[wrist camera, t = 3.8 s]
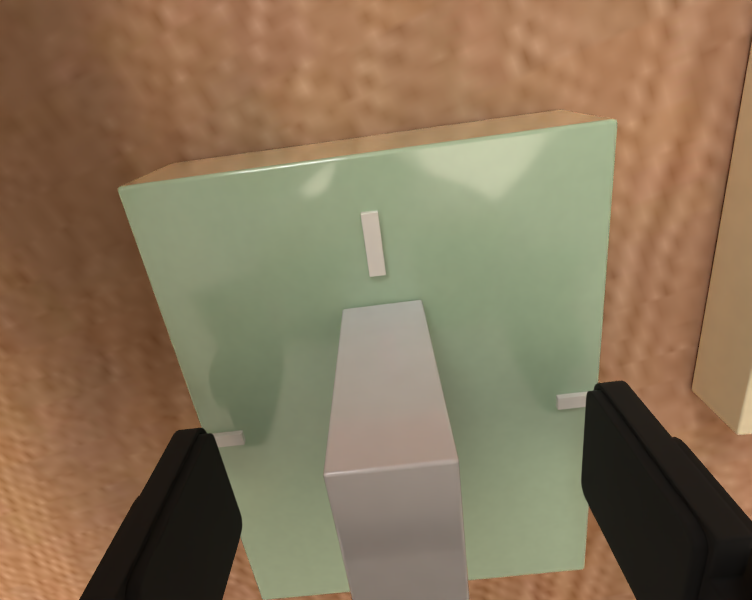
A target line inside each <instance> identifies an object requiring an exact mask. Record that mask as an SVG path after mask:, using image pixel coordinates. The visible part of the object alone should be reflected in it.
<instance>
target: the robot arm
mask: <svg viewBox="0 0 752 600" xmlns="http://www.w3.org/2000/svg"><path fill="white" fill-rule="evenodd" d="M581 486H582V491H583V494H584V497H585V499H586V501H587V503H588V505H589V507H590V509H591V511H592V513H593V515H594V517H595V519H596V521H597V523H598V525H599V527H600V528H601V530H602V532H603V534H604V536H605V538H606V540H607V542H608V544H609V546H610V548H611V550H612V552H613V554H614V556H615V558H616V560H617V562H618V564H619V566H620V568H621V570H622V572H623V574H624V576H625V578H626V580H627V582H628V584H629V586H630V588H631V590H632V592H633V594H634V595H635V597H636V599H637V600H752V521H751V520H750V519H749V517H748V516H747V515H746V514H745V513H744V512H743V510H742V509H741V508H740V507H739V506H738V505H737V503H736V502H735V501H734V500H733V499H732V498H731V496H730V495H729V494H728V493H727V492H726V491H725V489H724V488H723V487H722V486H721V485H720V484H719V482H718V481H717V480H716V479H715V478H714V477H713V475H712V474H711V473H710V472H709V471H708V470H707V468H706V467H705V466H704V465H703V464H702V463H701V461H700V460H699V459H698V458H697V457H696V456H695V454H694V453H693V452H692V451H691V450H690V449H689V447H688V446H687V445H686V444H685V443H684V442H683V441H682V440H680V439H678V438H676V437H671V436H670V434H669V433H668V432H667V431H666V430H665V428H664V427H663V426H662V425H661V424H660V422H659V421H658V420H657V419H656V418H655V416H654V415H653V414H652V413H651V412H650V410H649V409H648V408H647V407H646V406H645V404H644V403H643V402H642V401H641V400H640V399H639V397H638V396H637V395H636V394H635V393H634V391H633V390H632V389H631V388H630V387H629V385H628V384H627V383H626V382H625V381H614V382H605V383H597V384H595V386H594V390H593V391H588V392H587V395H586V407H585V424H584V440H583V456H582V472H581ZM241 532H242V516H241V513H240V510H239V507H238V504H237V501H236V498H235V495H234V492H233V490H232V487H231V484H230V481H229V478H228V475H227V472H226V469H225V466H224V463H223V460H222V457H221V454H220V452H219V449H218V446H217V443H216V440H215V437H214V435H213V434H212V433H207V432H206V430H205V429H204V428H194V429H185V430H178V431H176V432H175V433H174V435H173V437H172V438H171V440H170V442H169V444H168V446H167V447H166V449H165V451H164V453H163V455H162V456H161V458H160V460H159V462H158V464H157V466H156V467H155V469H154V471H153V473H152V475H151V476H150V478H149V480H148V482H147V484H146V485H145V487H144V489H143V491H142V493H141V494H140V496H138V497H137V499H136V500H135V501H134V503H133V504H132V506H131V508H130V510H129V512H128V513H127V515H126V517H125V519H124V521H123V522H122V524H121V526H120V528H119V530H118V531H117V533H116V535H115V537H114V538H113V540H112V542H111V544H110V546H109V547H108V549H107V551H106V553H105V555H104V556H103V558H102V560H101V562H100V564H99V565H98V567H97V569H96V571H95V572H94V574H93V576H92V578H91V580H90V581H89V583H88V585H87V587H86V589H85V590H84V592H83V594H82V596H81V597H80V599H79V600H222V599H223V595H224V592H225V588H226V585H227V581H228V578H229V574H230V571H231V567H232V564H233V560H234V557H235V553H236V550H237V546H238V543H239V539H240V536H241Z"/></svg>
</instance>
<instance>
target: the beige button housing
mask: <svg viewBox="0 0 752 600" xmlns="http://www.w3.org/2000/svg"><path fill="white" fill-rule="evenodd" d="M692 391H693V392H694V393H695V394H696V395H697V396H698V397H699V398H700V399H701V400H702V401H703V402H704V403H705V404H706V405H707V406H708V407H709V408H710V409H711V410H712V411H713V412H714V413H715V414H716V415H717V416H718V417H719V418H720V419H721V420H722V421H723V422H724V423H725V424H726V425H728V426H729V427H730V428H731V429H732V430H733V431H734V432H735V433H736V434H737V435H745V434H752V43H751V49H750V54H749V60H748V66H747V72H746V77H745V83H744V89H743V95H742V101H741V106H740V112H739V118H738V124H737V129H736V135H735V141H734V147H733V153H732V158H731V164H730V170H729V176H728V181H727V187H726V193H725V199H724V204H723V210H722V216H721V222H720V228H719V233H718V239H717V245H716V251H715V256H714V262H713V268H712V274H711V280H710V285H709V291H708V297H707V303H706V308H705V314H704V320H703V326H702V332H701V337H700V343H699V349H698V355H697V360H696V366H695V372H694V378H693V384H692Z"/></svg>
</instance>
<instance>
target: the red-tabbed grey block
mask: <svg viewBox="0 0 752 600" xmlns="http://www.w3.org/2000/svg"><path fill="white" fill-rule="evenodd" d="M323 477H324V482H325V486H326V490H327V494H328V499H329V503H330V507H331V511H332V516H333V520H334V524H335V529H336V533H337V537H338V541H339V546H340V550H341V554H342V558H343V563H344V567H345V571H346V576H347V580H348V584H349V588H350V593H351V597H352V600H470V597H469V583H468V570H467V557H466V544H465V531H464V518H463V504H462V491H461V478H460V465H459V458H458V453H457V449H456V445H455V440H454V436H453V432H452V427H451V423H450V419H449V414H448V410H447V406H446V401H445V397H444V393H443V388H442V384H441V380H440V375H439V371H438V367H437V362H436V358H435V354H434V349H433V345H432V341H431V336H430V332H429V328H428V323H427V319H426V315H425V311H424V306H423V302H422V300H414V301H406V302H398V303H390V304H382V305H374V306H365V307H357V308H349V309H344V310H343V311H342V319H341V327H340V336H339V344H338V353H337V361H336V370H335V378H334V387H333V395H332V404H331V412H330V420H329V429H328V437H327V446H326V454H325V463H324V471H323Z"/></svg>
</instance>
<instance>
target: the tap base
mask: <svg viewBox="0 0 752 600" xmlns="http://www.w3.org/2000/svg"><path fill="white" fill-rule="evenodd" d="M616 136H617V120H616V119H612V118H607V117H601V116H595V115H590V114H584V113H578V112H573V111H567V110H561V109H560V110H553V111H546V112H539V113H531V114H524V115H517V116H510V117H502V118H495V119H488V120H481V121H473V122H466V123H459V124H452V125H445V126H437V127H430V128H423V129H416V130H408V131H401V132H394V133H387V134H380V135H372V136H365V137H358V138H351V139H343V140H336V141H329V142H322V143H314V144H307V145H300V146H293V147H286V148H278V149H271V150H264V151H257V152H249V153H242V154H235V155H228V156H220V157H213V158H206V159H199V160H192V161H184V162H177V163H172V164H169V165H167V166H165V167H163V168H160V169H158V170H156V171H154V172H151V173H149V174H147V175H145V176H142V177H140V178H138V179H136V180H133V181H131V182H129V183H126V184H124V185H122V186H120V187H119V188H118V193H119V196H120V199H121V201H122V204H123V207H124V210H125V213H126V216H127V218H128V221H129V224H130V227H131V230H132V232H133V235H134V238H135V241H136V244H137V247H138V249H139V252H140V255H141V258H142V261H143V264H144V266H145V269H146V272H147V275H148V278H149V280H150V283H151V286H152V289H153V292H154V295H155V297H156V300H157V303H158V306H159V309H160V311H161V314H162V317H163V320H164V323H165V326H166V328H167V331H168V334H169V337H170V340H171V343H172V345H173V348H174V351H175V354H176V357H177V359H178V362H179V365H180V368H181V371H182V374H183V376H184V379H185V382H186V385H187V388H188V391H189V393H190V396H191V399H192V402H193V405H194V407H195V410H196V413H197V416H198V419H199V422H200V424H201V427H202V428H204V429H205V430H206V432H207V433H212V434H213V435H214V437H215V440H216V443H217V446H218V449H219V452H220V454H221V457H222V460H223V463H224V466H225V469H226V472H227V475H228V478H229V481H230V484H231V487H232V490H233V492H234V495H235V498H236V501H237V504H238V507H239V510H240V513H241V516H242V532H241V536H240V537H241V540H242V543H243V546H244V549H245V551H246V554H247V557H248V560H249V563H250V566H251V568H252V571H253V574H254V577H255V580H256V582H257V585H258V588H259V591H260V594H261V597H262V599H263V600H270V599H281V598H291V597H302V596H312V595H322V594H333V593H343V592H350V588H349V584H348V580H347V576H346V571H345V567H344V563H343V558H342V554H341V550H340V546H339V541H338V537H337V533H336V529H335V524H334V520H333V516H332V511H331V507H330V503H329V499H328V494H327V490H326V486H325V482H324V477H323V471H324V463H325V454H326V446H327V437H328V429H329V420H330V412H331V404H332V395H333V387H334V378H335V370H336V361H337V353H338V344H339V336H340V327H341V319H342V311H343V310H344V309H349V308H357V307H365V306H374V305H382V304H390V303H398V302H406V301H414V300H422V302H423V306H424V311H425V315H426V319H427V323H428V328H429V332H430V336H431V341H432V345H433V349H434V354H435V358H436V362H437V367H438V371H439V375H440V380H441V384H442V388H443V393H444V397H445V401H446V406H447V410H448V414H449V419H450V423H451V427H452V432H453V436H454V440H455V445H456V449H457V453H458V458H459V465H460V478H461V491H462V504H463V518H464V531H465V544H466V557H467V570H468V580H479V579H489V578H499V577H510V576H520V575H531V574H541V573H551V572H562V571H572V570H582V569H584V564H585V551H586V537H587V524H588V510H589V505H588V503H587V501H586V499H585V497H584V494H583V491H582V486H581V472H582V456H583V440H584V424H585V407H586V395H587V392H588V391H593V390H594V386H595V384H597V383H598V376H599V363H600V350H601V336H602V323H603V310H604V296H605V283H606V269H607V256H608V243H609V229H610V216H611V202H612V189H613V176H614V162H615V149H616Z"/></svg>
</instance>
